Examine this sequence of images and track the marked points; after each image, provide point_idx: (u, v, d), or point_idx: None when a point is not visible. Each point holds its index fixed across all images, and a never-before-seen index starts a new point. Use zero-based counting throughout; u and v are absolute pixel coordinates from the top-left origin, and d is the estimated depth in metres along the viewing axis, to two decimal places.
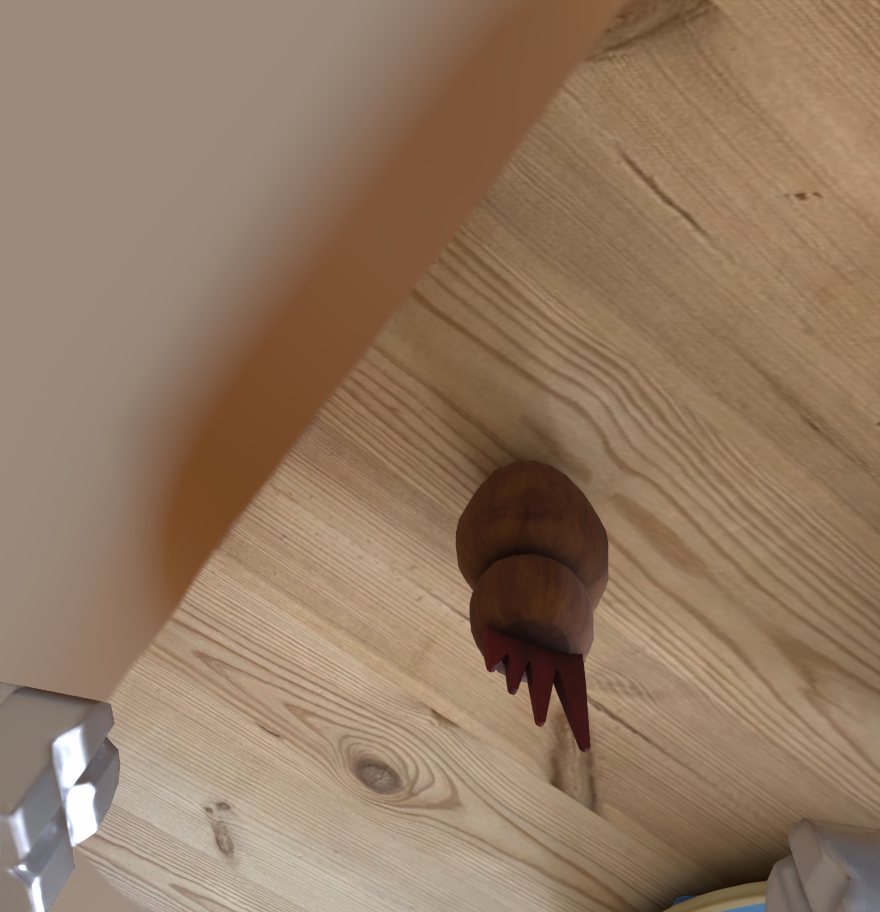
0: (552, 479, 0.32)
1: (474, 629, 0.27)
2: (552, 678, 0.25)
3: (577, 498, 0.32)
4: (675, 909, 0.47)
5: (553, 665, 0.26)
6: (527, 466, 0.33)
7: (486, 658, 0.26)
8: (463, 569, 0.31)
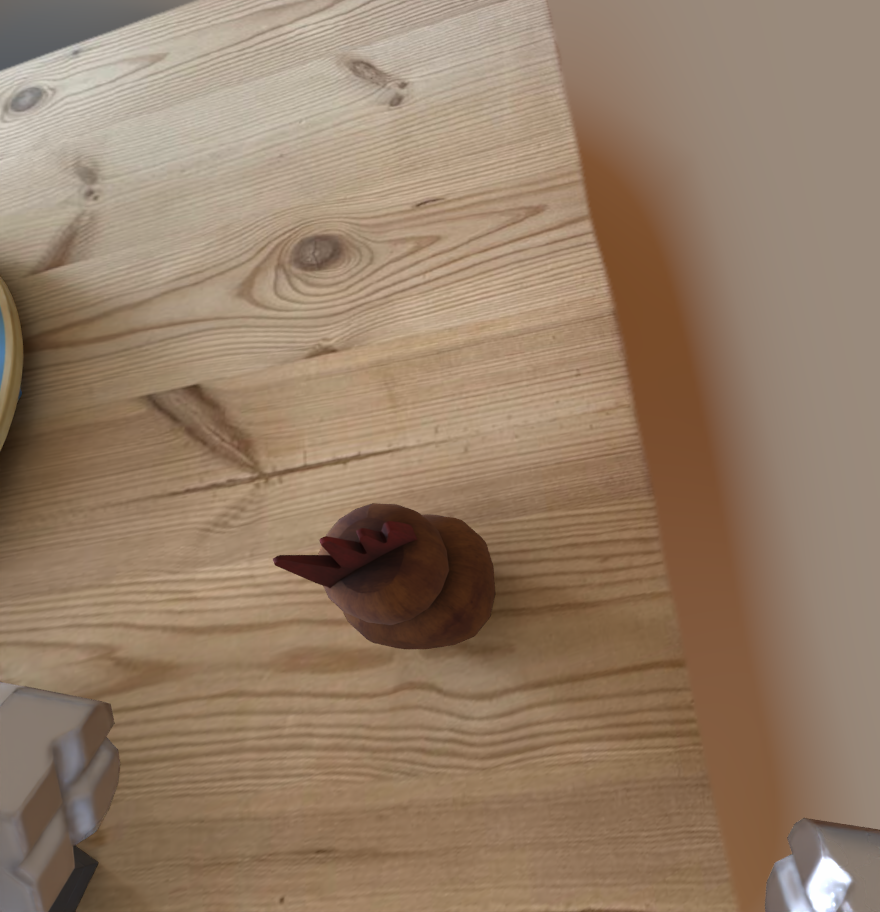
0: (456, 643, 0.33)
1: (417, 521, 0.27)
2: (339, 562, 0.25)
3: (425, 648, 0.33)
4: (16, 388, 0.46)
5: (345, 567, 0.26)
6: (479, 629, 0.33)
7: (396, 525, 0.25)
8: (454, 526, 0.31)
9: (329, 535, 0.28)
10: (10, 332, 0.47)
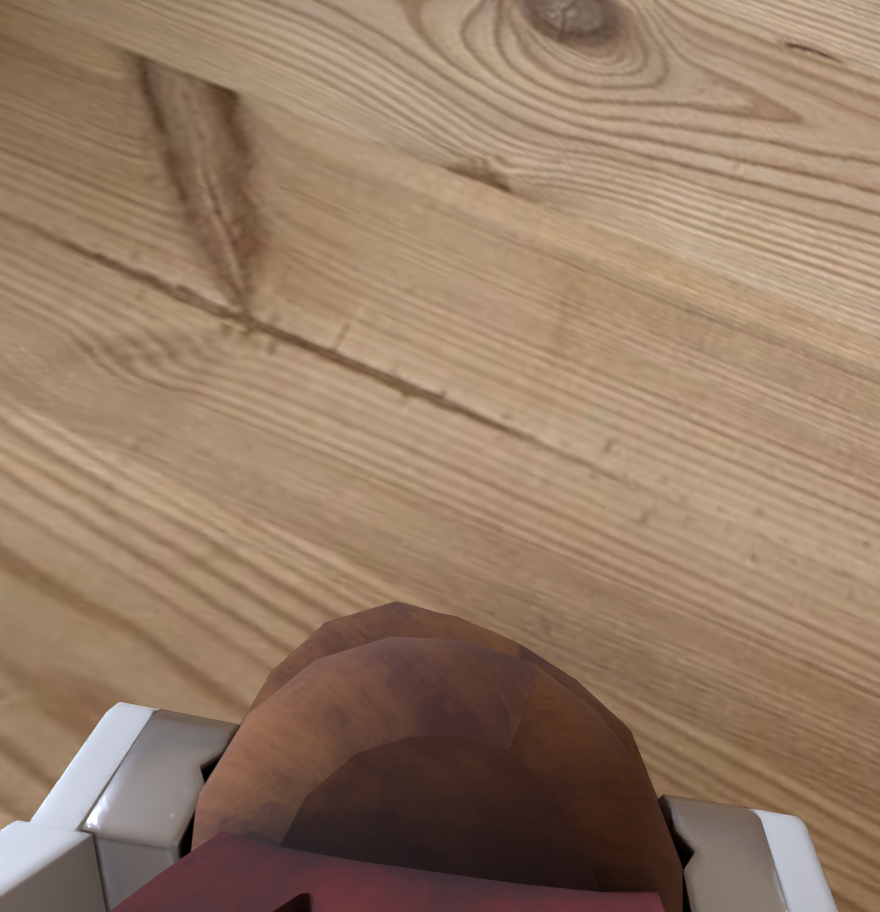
0: None
1: (671, 866, 0.07)
2: None
3: None
4: None
5: None
6: None
7: None
8: None
9: (325, 706, 0.07)
10: None
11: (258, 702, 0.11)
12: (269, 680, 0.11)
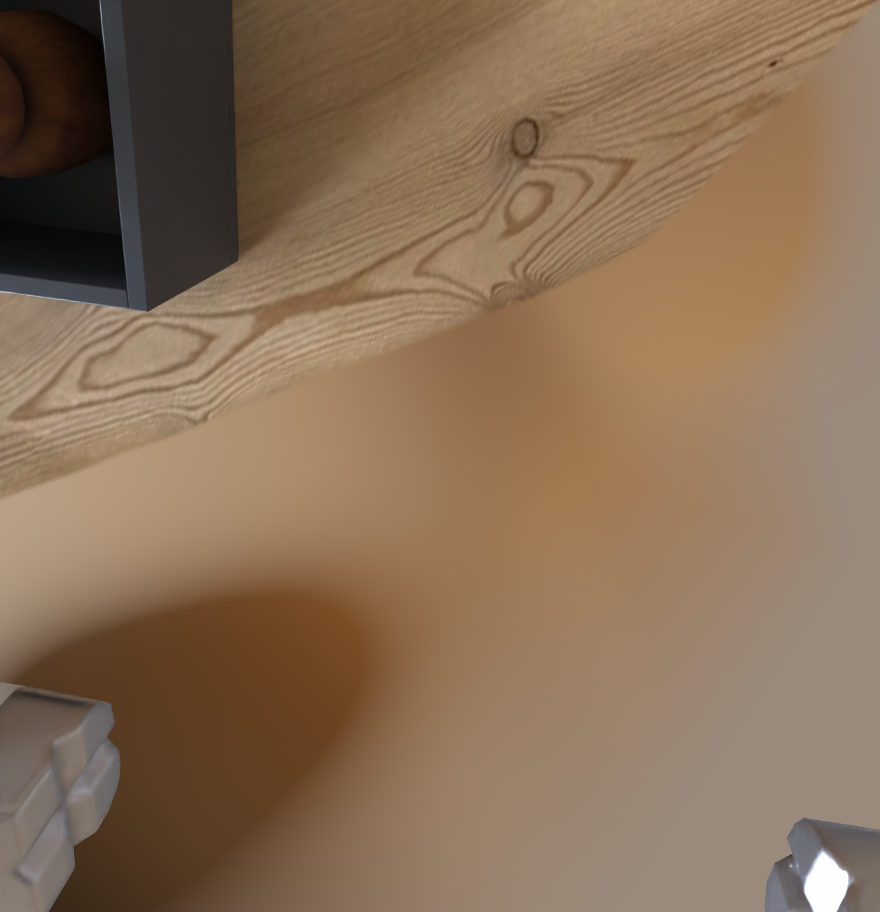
0: (104, 149, 0.32)
1: None
2: None
3: (78, 165, 0.32)
4: None
5: None
6: None
7: None
8: (14, 22, 0.27)
9: None
10: None
11: None
12: None
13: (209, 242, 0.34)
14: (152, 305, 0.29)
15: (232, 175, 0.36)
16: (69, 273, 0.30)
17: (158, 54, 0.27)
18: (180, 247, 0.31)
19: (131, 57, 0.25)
